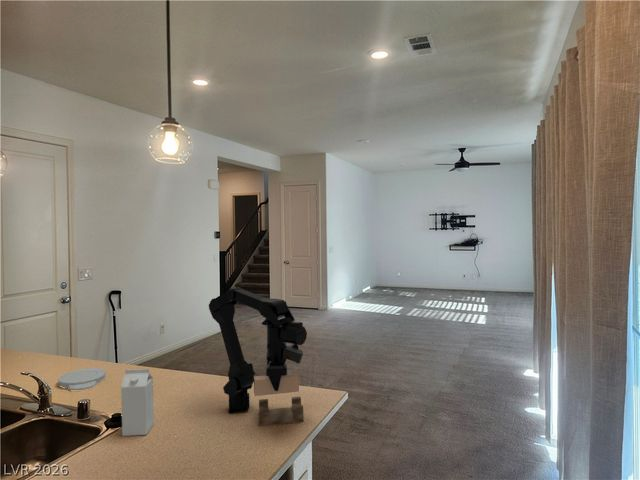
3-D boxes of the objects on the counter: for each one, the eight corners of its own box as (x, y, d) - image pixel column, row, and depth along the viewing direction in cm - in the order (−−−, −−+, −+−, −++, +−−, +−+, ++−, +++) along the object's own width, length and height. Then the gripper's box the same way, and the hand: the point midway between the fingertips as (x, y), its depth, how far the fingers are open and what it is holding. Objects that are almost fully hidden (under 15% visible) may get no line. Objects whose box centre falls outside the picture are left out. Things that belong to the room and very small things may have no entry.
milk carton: (131, 425, 131) (129, 366, 131) (154, 424, 132) (152, 365, 131) (122, 436, 124) (120, 374, 124) (146, 435, 125) (145, 373, 124)
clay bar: (254, 396, 129) (254, 380, 129) (253, 391, 133) (253, 376, 132) (298, 391, 133) (298, 376, 132) (296, 387, 136) (296, 372, 136)
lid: (56, 396, 156) (55, 388, 156) (59, 379, 174) (59, 372, 174) (107, 387, 165) (107, 379, 165) (105, 372, 182) (105, 365, 182)
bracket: (259, 425, 130) (259, 410, 130) (259, 412, 139) (258, 399, 139) (303, 421, 133) (303, 407, 132) (300, 409, 142) (300, 396, 141)
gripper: (303, 347, 124) (303, 398, 124) (299, 331, 142) (299, 376, 143) (266, 348, 122) (266, 400, 123) (266, 332, 141) (266, 378, 141)
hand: (276, 388), depth 133 cm, fingers closed on clay bar, 4 cm apart
